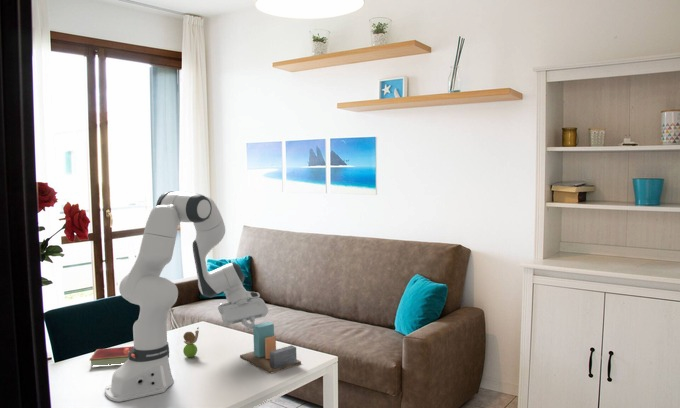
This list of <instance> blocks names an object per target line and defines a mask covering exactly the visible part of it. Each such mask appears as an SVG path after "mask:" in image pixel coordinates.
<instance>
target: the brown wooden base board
mask: <svg viewBox="0 0 680 408" xmlns="http://www.w3.org/2000/svg"><path fill="white" fill-rule="evenodd" d="M239 358H240V359H242V360H244V361H246V362H248V363H249V364H252V365H253V366H255V367H257V368H259V369H261V370H263V371H264V372H266V373H268V374H272V373H277V372H279V371H280V372H281V371H283V370H285V369H290V368H291V367H295V366H299V365H301V364H302V361H301V360H299V359H297V363H294V364H291V365H287V366H284V367H281V368H278V369H275V370H274V369H273V368H271V367H270V359H266V358H265V356H264V357H260V358H259V357H257V356H255V355H254V350H253V351H249V352H247V353H243V354H240V355H239Z"/></svg>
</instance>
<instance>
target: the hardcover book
mask: <svg viewBox="0 0 680 408" xmlns="http://www.w3.org/2000/svg"><path fill="white" fill-rule="evenodd" d="M133 346H134V345H133ZM133 346H121V347H111V348H110V347H109V348H98V349H96V350H95V351H94V353H93V354H92V355H91V357H90V358H89V361H90V366H93V365H108V364H109V365H111V364H121V363H125V362H126V361H127V360H128V359H129V357H128V355H126V354H125V353H124V350H125V348H129V349H130V350H131V349H132V348H133Z"/></svg>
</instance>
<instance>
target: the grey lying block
mask: <svg viewBox="0 0 680 408" xmlns="http://www.w3.org/2000/svg"><path fill="white" fill-rule="evenodd" d="M297 360H298V358H297V346H294V345H288V346H284V347H281V348H276V350H274V351H270V367H271V368H273V369H274V370H275V369H278V368H281V367H284V366H287V365H291V364H294V363H297Z"/></svg>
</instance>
